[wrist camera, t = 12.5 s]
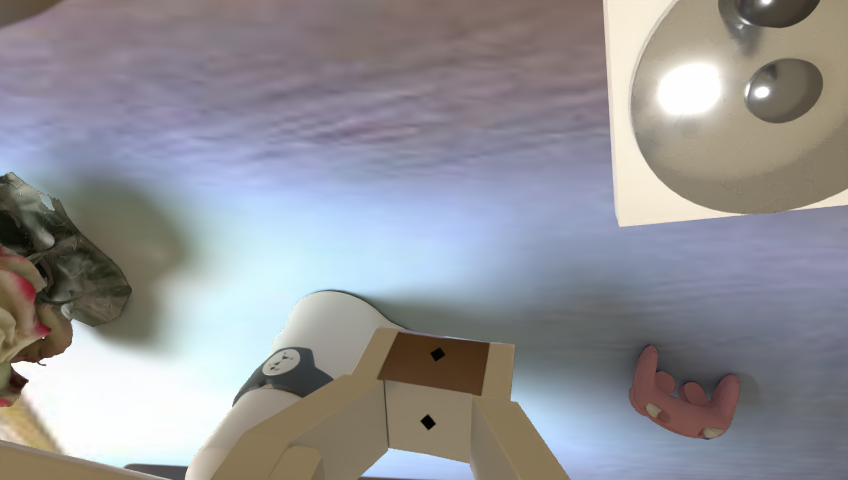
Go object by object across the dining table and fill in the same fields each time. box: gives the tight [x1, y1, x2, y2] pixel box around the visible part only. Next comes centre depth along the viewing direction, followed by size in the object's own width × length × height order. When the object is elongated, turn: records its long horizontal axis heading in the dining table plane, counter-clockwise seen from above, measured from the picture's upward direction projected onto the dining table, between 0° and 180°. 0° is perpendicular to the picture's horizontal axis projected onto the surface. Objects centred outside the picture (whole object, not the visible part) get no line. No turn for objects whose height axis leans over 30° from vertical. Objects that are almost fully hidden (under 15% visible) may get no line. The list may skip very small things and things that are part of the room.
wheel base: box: [603, 0, 848, 227], centre depth 34 cm, size 20×20×3 cm
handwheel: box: [628, 0, 848, 214], centre depth 29 cm, size 18×18×8 cm
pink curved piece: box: [629, 345, 740, 440], centre depth 47 cm, size 10×5×7 cm, turn 74°
